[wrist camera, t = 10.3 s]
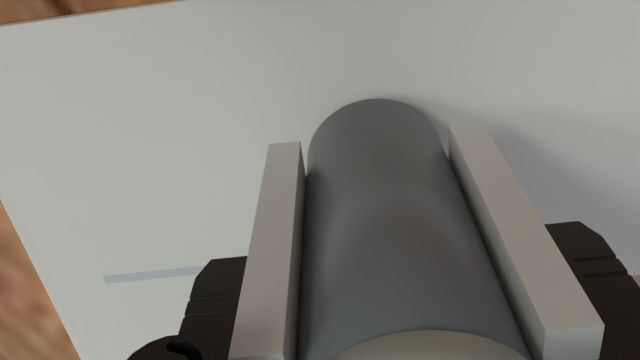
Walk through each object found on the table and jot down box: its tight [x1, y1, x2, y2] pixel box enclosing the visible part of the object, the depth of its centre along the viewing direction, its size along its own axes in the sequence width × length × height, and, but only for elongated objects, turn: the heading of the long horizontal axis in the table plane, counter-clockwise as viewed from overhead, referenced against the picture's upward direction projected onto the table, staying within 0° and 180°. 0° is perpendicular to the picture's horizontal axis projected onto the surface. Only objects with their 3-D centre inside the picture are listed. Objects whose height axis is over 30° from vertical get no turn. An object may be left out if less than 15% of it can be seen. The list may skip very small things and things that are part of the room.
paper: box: [0, 0, 640, 360], centre depth 17 cm, size 20×18×1 cm
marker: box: [296, 98, 532, 360], centre depth 9 cm, size 4×4×12 cm
